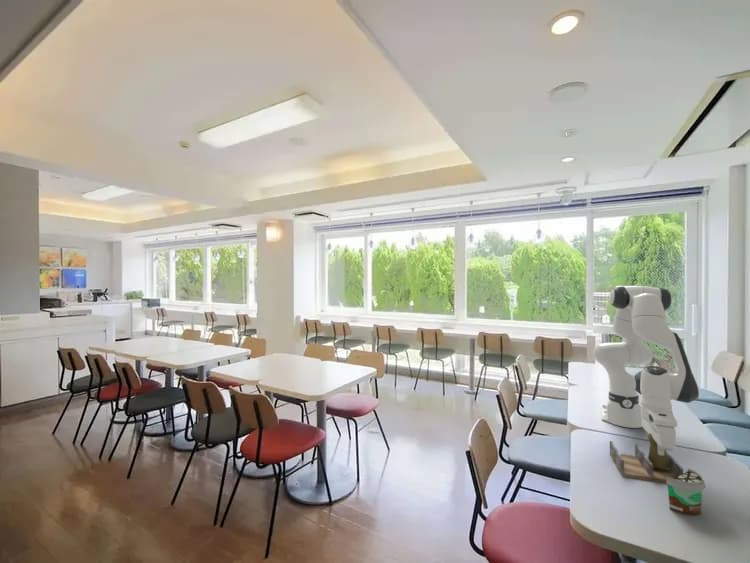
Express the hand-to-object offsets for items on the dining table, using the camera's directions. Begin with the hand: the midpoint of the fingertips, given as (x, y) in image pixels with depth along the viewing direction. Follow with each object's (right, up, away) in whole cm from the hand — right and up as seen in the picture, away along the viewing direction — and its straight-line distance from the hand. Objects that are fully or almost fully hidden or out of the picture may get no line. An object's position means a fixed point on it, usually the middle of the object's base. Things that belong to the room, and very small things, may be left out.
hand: (657, 450), depth 125 cm
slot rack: (-4, -8, +1) cm, 9 cm away
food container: (-8, -8, -22) cm, 24 cm away
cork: (0, -5, 0) cm, 5 cm away
